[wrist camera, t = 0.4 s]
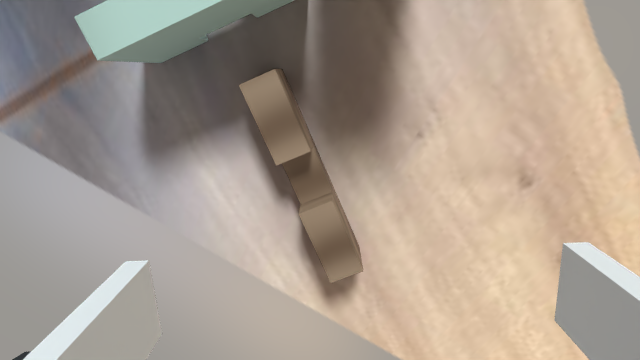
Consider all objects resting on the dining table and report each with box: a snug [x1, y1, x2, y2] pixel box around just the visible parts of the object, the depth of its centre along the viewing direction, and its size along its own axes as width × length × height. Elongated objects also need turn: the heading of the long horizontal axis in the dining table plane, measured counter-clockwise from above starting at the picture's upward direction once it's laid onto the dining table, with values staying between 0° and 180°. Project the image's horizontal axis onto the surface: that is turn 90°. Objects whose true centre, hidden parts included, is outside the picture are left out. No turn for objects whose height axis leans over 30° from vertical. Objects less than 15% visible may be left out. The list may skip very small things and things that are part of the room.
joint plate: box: [74, 0, 294, 63], centre depth 29 cm, size 14×3×10 cm, turn 113°
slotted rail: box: [239, 69, 363, 283], centre depth 35 cm, size 18×3×5 cm, turn 23°
